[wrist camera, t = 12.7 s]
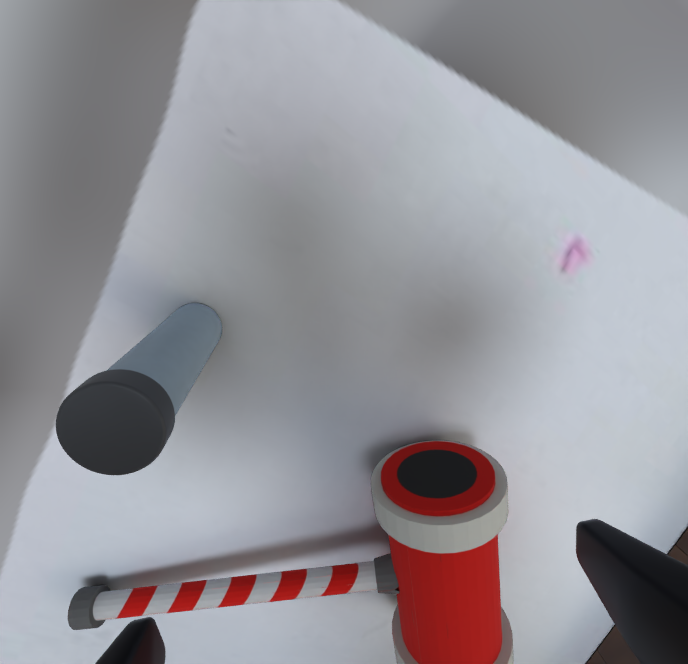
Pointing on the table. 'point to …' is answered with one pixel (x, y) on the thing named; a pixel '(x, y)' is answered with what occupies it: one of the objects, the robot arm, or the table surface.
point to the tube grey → (138, 395)
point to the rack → (614, 653)
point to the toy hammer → (384, 563)
